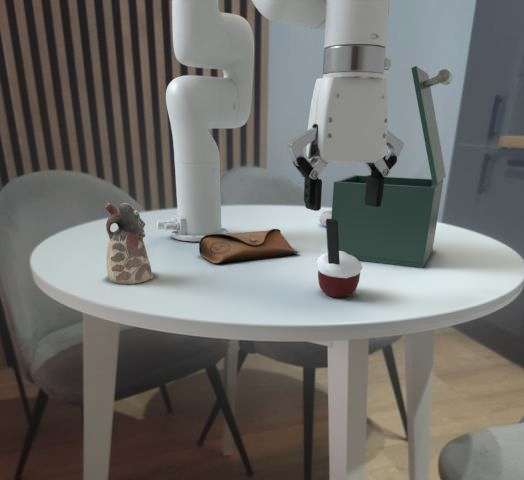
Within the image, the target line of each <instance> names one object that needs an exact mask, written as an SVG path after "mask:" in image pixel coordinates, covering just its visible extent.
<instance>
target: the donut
mask: <svg viewBox="0 0 524 480" xmlns="http://www.w3.org/2000/svg"><path fill="white" fill-rule="evenodd" d="M331 216H332V209H331V210H326V211H323V212H322V213H321V214H320V215H319V217H318V218H319V223H320V224H321V225H322V226H323V227H325V228H326V219H331Z"/></svg>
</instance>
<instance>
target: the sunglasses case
mask: <svg viewBox="0 0 524 480" xmlns="http://www.w3.org/2000/svg"><path fill="white" fill-rule="evenodd" d="M198 243H199V244H198V249H199V255H200V257H202V258H203V259H204V260H206V261H207V262H210V263H211V264H222V263H223V264H224V263H229V262H236V261H237V262H238V261H249V260H259V259H271V258H272V259H273V258H278V257H284V256H289V255H292V254H297V253H298V250H295V249H294V248H293V246H291V244H290V243H289V242H288V240H287V239H286V238H285V237H284V235H283V234H282V232H281V230H280V228H279V229H278V228H271V229H269V230H259V231H258V230H257V231H256V230H255V231H245V232H235V233H229V234H211V235H206V236H204V237H203V238H202V239H201V240H200V242H198Z"/></svg>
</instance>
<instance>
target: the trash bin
mask: <svg viewBox="0 0 524 480" xmlns="http://www.w3.org/2000/svg"><path fill="white" fill-rule="evenodd" d="M367 176H368V175H358V174H353V175H350V176H347V177H344V178H341V179H339V180H336V181H333V190H332V201H331V210H332V216H331V219H334V220H337V221H338V236H339V251H343V252H346V253H347V254H349V255H352V256H354V257H355V258H357V259H358V261H359V262H368V263H378V264H384V265H385V264H386V265H394V266H404V267H413V268H419V269H420V268H421V269H422V268H424V266H425V264H426V263H427V262H428V259H429V258H430V256H431V254H432V253H433V249H434V242H435V236H436V231H437V224H438V219H439V211H440V205H441V198H442V194H443V193H442V191H443V185H444V179H443V180H442V181H441V182H440V183H438V184H437V185H433V184H432V178H417V177H399V176H397V177H396V176H387V177H385V179H384V189H383V197H382V202H381V206H380V207H374V206H370V205H366V204H365V192H366V180H367Z"/></svg>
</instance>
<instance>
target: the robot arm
mask: <svg viewBox="0 0 524 480" xmlns="http://www.w3.org/2000/svg"><path fill="white" fill-rule="evenodd" d="M250 1H251V3H252V4H253V5H254V7H255V8H256V9H257V11H258V12H259V13H260V14H261V16H263V17H264V18H265V19H267V20H268V21H270V22H272V23H274V24H279V25H286V26H295V27H301V28H302V27H304V28H310V29H315V30H321V31H323V30H324V42H323V64H322V77H319V78H316V80H315V84H314V88H313V93H312V97H311V102H310V108H309V116H308V121H307V122H308V124H307V130H306V131H304V132H303V133H301V134H299V135H298V136H296V137H294V138H293V139H291V140H290V141H288V143H287V144H286V148H287V150H288V153H289V155H290V158H291V159H292V164H293V166H294V167H295V168H296V169H297V170H298V172H299V173H300V175H301V177H302V178H304V182H303V183H304V186H303V188H304V189H303V202H304V204H305V209H307V210H311V211H315V212H318V211H320V210H321V209H322V191H323V181H322V179H321V178H319V177H320V175H321V174H322V172H323V171H324V170H325V168H326V167H327V165H328V164H365V166H366V167H367V169H368V171H369V172H370V174H367V175H366V176H367V180H366V192H365V204H366V205H370V206H374V207H380V206H381V202H382V197H383V189H384V179H385V177H389V175H390V171H391V170H392V169H393V167H394V166H395V165H396V164H397V162H398V158H399V156H400V154H401V152H402V150H403V148H404V146H405V143H404V141H403V140H402V139H400V138H399V137H397V136H396V135H394V134H393V133H392V132H391V131H389V130H388V129H389V95H388V93H389V92H388V83H387V78H384V74H385V71H389V70H390V68H391V66H392V60H391V58H389V57H386V52H387V51H386V47H387V38H388V27H389V26H388V25H389V16H390V5H391V0H250ZM219 7H220V6H219V0H171V16H172V17H171V21H172V23H171V25H172V46H173V52H174V56H175V59H176V60H177V62H179V64H181V65H183V66H186V67H191V68H197V69H209V70H222V73H223V76H221V77H220V76H210V75H194V74H193V75H191V74H189V75H181V76H178V77H175V78H174V79H172V80H171V81H170V82H169V83H168V85H167V87H166V91H165V105H166V109H167V114H168V119H169V123H170V130H171V135H172V143H173V158H174V159H173V160H174V170H175V171H174V172H175V173H174V175H175V188H176V189H175V191H176V192H175V193H176V208H177V209H176V210H177V214H173V217H171V218H170V219H158V220H156V224H155V225H156V229H157V230H165V231H170V230H171V237H172V238H173V239H175V240H177V241H178V240H179V241H183V242H196V243H197V242H198V243H200V240H201V239H202V238H203V237H204V236H206V235H211V234H230V233H229V230H228V229H227V228H225V227H222V195H221V194H222V191H221V154H220V150H219V146H218V144H217V141H215V138H213V136H212V134H211V132H210V131H209V130H212V129H239V128H241V127H243V126H244V125H246V124H247V122H248V121H249V118H250V114H251V109H252V98H253V83H254V65H255V39H254V33H253V30H252V27H251V25H250V23H249V22H248V20H247V19H246V18H245V17H243V16H241V15H238V14H235V13H229V12H221V11H220V8H219ZM304 148H305V154H306V157H307V158H306V157H305V154H304V152H303V151H304ZM387 148H388V150H387ZM386 150H387V153H386ZM385 154H386V155H385Z"/></svg>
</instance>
